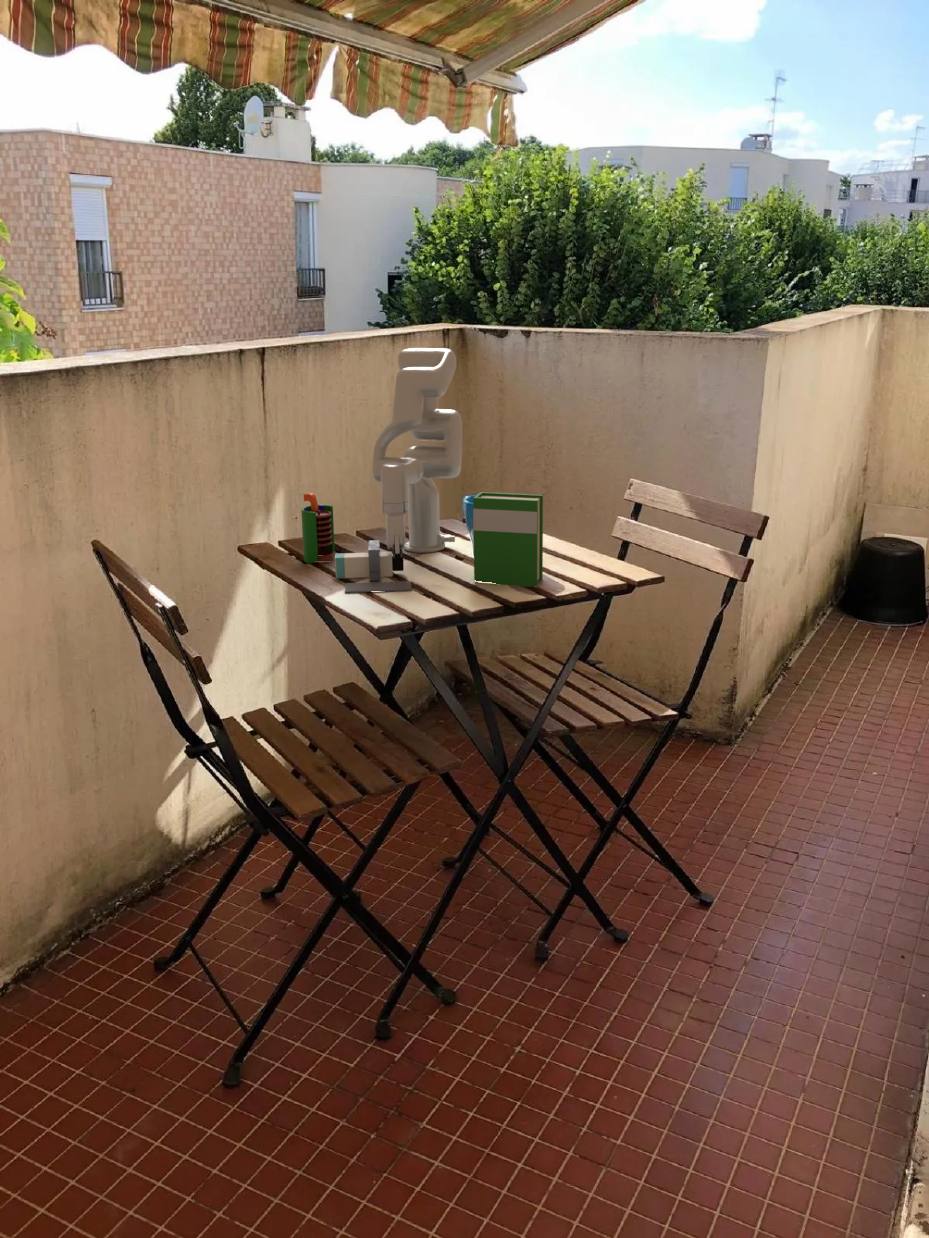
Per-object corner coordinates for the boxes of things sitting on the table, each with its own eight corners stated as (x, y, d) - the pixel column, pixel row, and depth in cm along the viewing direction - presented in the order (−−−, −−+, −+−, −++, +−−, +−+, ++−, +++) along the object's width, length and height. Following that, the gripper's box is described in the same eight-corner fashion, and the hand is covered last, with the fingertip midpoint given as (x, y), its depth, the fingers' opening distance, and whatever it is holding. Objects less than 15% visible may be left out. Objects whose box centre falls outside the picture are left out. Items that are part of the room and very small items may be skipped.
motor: (327, 564, 324) (324, 498, 317) (299, 563, 326) (294, 497, 319) (338, 555, 333) (334, 490, 327) (310, 554, 335) (306, 489, 328)
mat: (411, 582, 305) (411, 580, 305) (411, 591, 298) (411, 589, 298) (346, 584, 304) (345, 583, 304) (344, 593, 297) (344, 591, 297)
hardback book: (542, 579, 306) (543, 494, 298) (536, 587, 299) (537, 500, 292) (481, 575, 311) (480, 492, 303) (474, 582, 304) (473, 497, 296)
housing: (380, 566, 321) (379, 537, 318) (380, 582, 306) (379, 552, 303) (370, 566, 321) (369, 537, 318) (369, 583, 306) (368, 553, 303)
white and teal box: (392, 571, 316) (391, 551, 314) (392, 576, 311) (391, 555, 309) (336, 574, 315) (335, 553, 313) (336, 578, 310) (334, 557, 308)
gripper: (382, 501, 314) (384, 563, 320) (382, 513, 300) (384, 578, 306) (408, 500, 315) (410, 562, 321) (409, 513, 301) (411, 577, 307)
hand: (398, 570), depth 313 cm, fingers closed
